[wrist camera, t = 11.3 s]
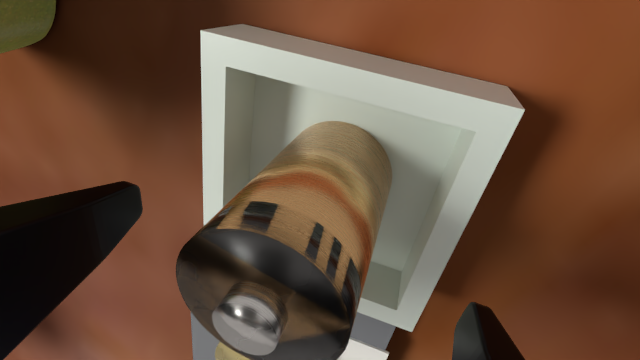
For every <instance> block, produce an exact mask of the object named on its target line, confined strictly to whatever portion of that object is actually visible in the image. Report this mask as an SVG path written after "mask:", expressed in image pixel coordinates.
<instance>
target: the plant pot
mask: <svg viewBox="0 0 640 360" xmlns="http://www.w3.org/2000/svg"><path fill="white" fill-rule="evenodd" d="M55 10H56V0H0V53H4V52H7V51H11V50H15V49H19V48H22V47H25V46H28V45H31V44H33V43H36V42H38V41H40V40H41V39H43V38H44V37H45V36H46V35H47V33H48V32H49V30H50V28H51V26H52V23H53V20H54V16H55Z"/></svg>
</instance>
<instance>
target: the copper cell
mask: <svg viewBox="0 0 640 360" xmlns="http://www.w3.org/2000/svg"><path fill="white" fill-rule="evenodd" d="M391 184H392V168H391V163H390V160H389V158H388V155H387V153H386V152H385V150H384V148H383V147H382V145H381V144H380V143H379V142H378V141H377V140H376V139H375V138H374V137H373V136H372V135H371V134H370V133H368V132H367V131H365V130H364V129H362V128H360V127H358V126H356V125H353V124H350V123H346V122H341V121H325V122H320V123H317V124H314V125H312V126H310V127H308V128H306V129H305V130H303V131H302V132H301V133H300V134H299V135H298V136H297V137H296V138H295V139H294V140H293V141H292V142H291V143H289V144H288V145H287V146H286V147H285V148H284V149H283V150H282V151H281V152H280V153H279V154H278V155H277V156H276V157H275V158H274V159H273V160H272V161H271V162H270V163H269V164H268V165H267V166H266V167H265V168H264V169H263V170H262V171H260V172H259V173H258V174H257V175H256V176H255V177H254V178H253V179H252V180H251V181H250V182H249V183H248V184H247V185H246V186H245V187H244V188H243V189H242V190H241V191H240V192H239V193H238V194H237V195H236V196H235V197H234V198H233V199H232V200H230V201H229V202H228V203H227V204H226V205H225V206H224V207H223V208H222V209H221V210H220V211H219V212H218V213H217V214H216V215H215V216H214V217H213V218H212V219H211V220H210V221H209V222H208V223H207V224H206V225H205V226H204V227H203V228H202V229H200V230H199V231H198V232H197V233H196V234H195V235H194V236H193V237H192V238H191V239H190V240H189V241H188V242H187V243H186V244H185V245H184V246H183V248H182V249H181V251H180V253H179V256H178V258H177V264H176V277H177V283H178V286H179V290H180V292H181V295H182V297H183V299H184V301H185V303H186V305H187V306H188V308H189V309H190V311H191V312H192V314H193V315H194V316H195V318H196V319H197V320H198V321H199V322H200V324H201V325H202V326H203V327H204V328H205V329H206V330H207V331H208V332H209V333H211V334H212V335H213V336H214V337H215V338H216V339H218V340H219V341H220V342H221V343H223V344H224V345H226V346H227V347H229V348H230V349H232V350H233V351H235V352H237V353H238V354H240V355H242V356H244V357H246V358H248V359H250V360H337V359H338V358H339V357H340V356H341V355H342V353H343V352H344V351H345V349H346V347H347V345H348V342H349V339H350V335H351V331H352V328H353V324H354V320H355V317H356V313H357V309H358V306H359V302H360V298H361V295H362V291H363V287H364V284H365V280H366V276H367V273H368V269H369V265H370V262H371V258H372V254H373V251H374V247H375V243H376V240H377V236H378V232H379V229H380V225H381V221H382V218H383V214H384V210H385V207H386V203H387V199H388V196H389V192H390V188H391Z"/></svg>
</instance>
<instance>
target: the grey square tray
mask: <svg viewBox="0 0 640 360" xmlns="http://www.w3.org/2000/svg"><path fill="white" fill-rule="evenodd" d="M191 326H192V346H193V360H216V359H215V350H216V347H217V345H218V344H219V342H220V341H219V340H218V339H216V338H215V337H214V336H213V335H212V334H211V333H209V332H208V331H207V330H206V329H205V328H204V327H203V326H202V325H201V324H200V322H199V321H198V320H197V319H196V318H195V316H194V315H193V314H192V312H191ZM395 328H396V326H394V325H391V324H388V323H386V322H383V321H380V320H378V319H375V318H372V317H370V316H367V315H364V314H361V313H359V312H357V313H356V317H355V320H354V324H353V328H352V331H351V335H350V339H349V342H348V345H347V347H346V349H345V351H344V352H343V353H342V355H341V356H340V357H339V358H338V359H337V360H387V358H388V355H389V352H387V351H385V349H386V347H387V345H388V343H389V341H390V339H391V336H392V334H393V332H394V330H395Z"/></svg>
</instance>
